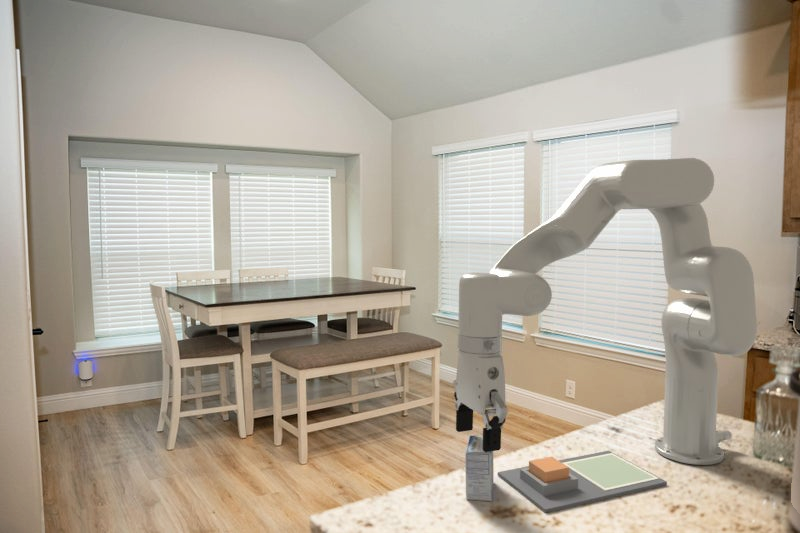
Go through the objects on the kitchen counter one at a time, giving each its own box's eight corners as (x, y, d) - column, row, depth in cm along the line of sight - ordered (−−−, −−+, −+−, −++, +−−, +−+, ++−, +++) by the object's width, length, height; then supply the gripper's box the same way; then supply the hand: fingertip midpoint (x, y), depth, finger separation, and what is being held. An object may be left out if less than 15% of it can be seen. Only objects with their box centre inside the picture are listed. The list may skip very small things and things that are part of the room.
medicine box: (491, 502, 100) (491, 453, 99) (465, 500, 101) (465, 451, 100) (493, 481, 107) (493, 435, 107) (469, 479, 108) (469, 434, 108)
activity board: (608, 453, 119) (609, 442, 119) (666, 484, 105) (667, 472, 105) (497, 475, 110) (497, 462, 110) (545, 512, 96) (545, 498, 96)
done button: (551, 469, 108) (552, 456, 108) (568, 480, 104) (569, 467, 103) (528, 473, 106) (528, 461, 106) (545, 485, 102) (545, 472, 102)
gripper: (526, 353, 95) (523, 456, 96) (474, 333, 111) (472, 421, 112) (485, 357, 92) (483, 462, 94) (438, 335, 108) (437, 426, 110)
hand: (477, 440), depth 103 cm, fingers open, 9 cm apart
